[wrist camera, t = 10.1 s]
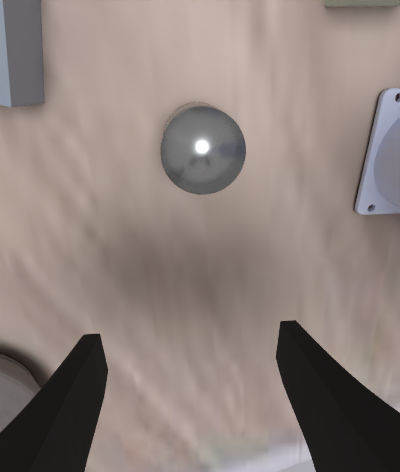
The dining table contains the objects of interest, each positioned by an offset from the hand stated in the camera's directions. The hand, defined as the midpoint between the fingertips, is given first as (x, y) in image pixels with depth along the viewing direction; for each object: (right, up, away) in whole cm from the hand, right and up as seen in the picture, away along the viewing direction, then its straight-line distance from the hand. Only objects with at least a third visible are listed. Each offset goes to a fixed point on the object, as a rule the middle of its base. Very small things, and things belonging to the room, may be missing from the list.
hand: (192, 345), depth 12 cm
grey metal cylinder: (0, +10, +6) cm, 12 cm away
